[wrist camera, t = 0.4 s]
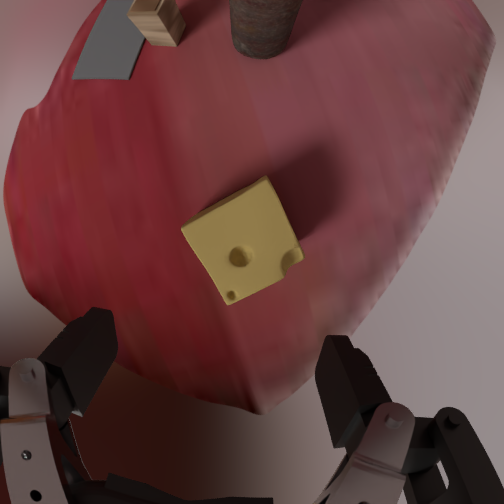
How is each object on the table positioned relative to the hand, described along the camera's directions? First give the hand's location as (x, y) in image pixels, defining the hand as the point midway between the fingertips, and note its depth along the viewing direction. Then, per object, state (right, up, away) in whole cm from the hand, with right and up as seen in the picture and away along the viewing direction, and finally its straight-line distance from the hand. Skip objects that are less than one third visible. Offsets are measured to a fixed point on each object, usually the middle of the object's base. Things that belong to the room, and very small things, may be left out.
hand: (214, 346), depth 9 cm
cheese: (0, +7, +27) cm, 28 cm away
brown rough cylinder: (+2, +32, +20) cm, 38 cm away
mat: (-19, +37, +17) cm, 45 cm away
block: (-10, +34, +18) cm, 40 cm away
